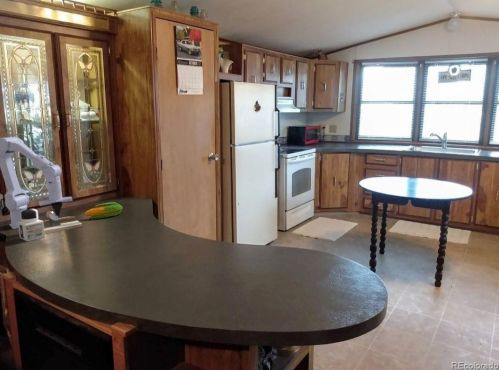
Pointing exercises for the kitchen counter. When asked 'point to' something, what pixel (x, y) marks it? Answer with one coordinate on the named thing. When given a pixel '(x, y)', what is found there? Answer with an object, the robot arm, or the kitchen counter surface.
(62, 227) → the brown-striped cream panel
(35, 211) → the container
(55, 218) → the bar
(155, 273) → the kitchen counter surface
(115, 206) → the corn
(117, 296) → the kitchen counter surface
